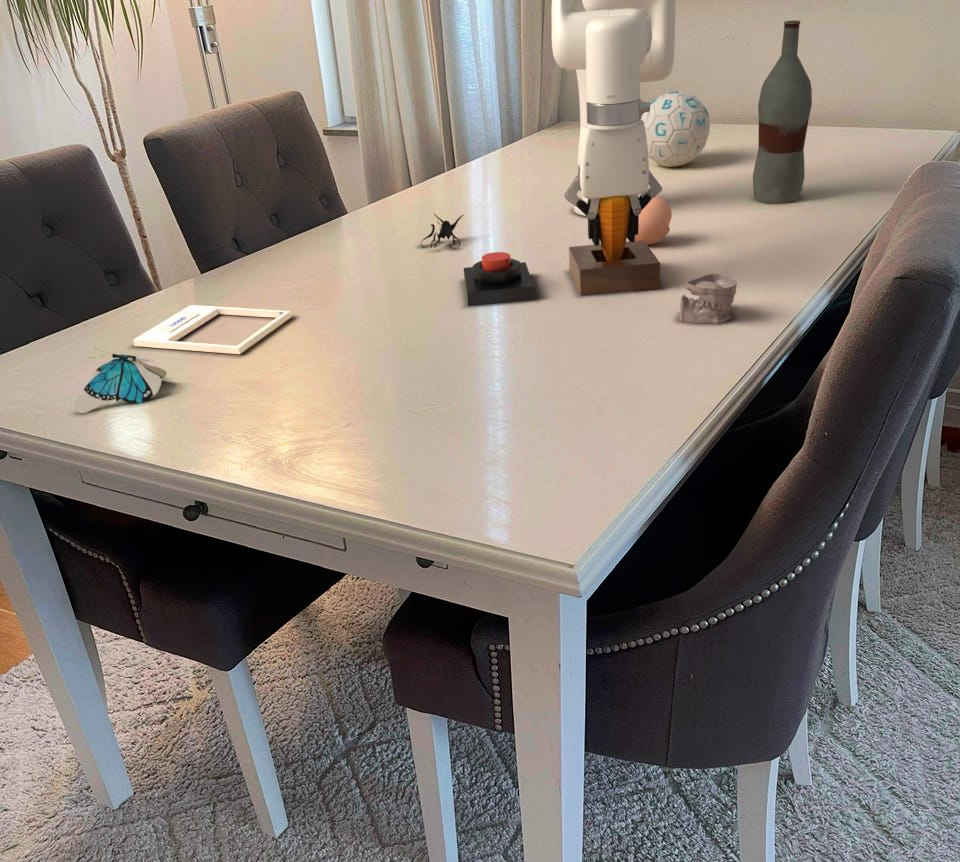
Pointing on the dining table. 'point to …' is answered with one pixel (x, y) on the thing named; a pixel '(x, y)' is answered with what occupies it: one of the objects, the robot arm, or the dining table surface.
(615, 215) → the carrot
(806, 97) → the bottle
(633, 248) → the holder
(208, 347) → the photo frame
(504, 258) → the button
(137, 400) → the decorative butterfly
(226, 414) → the dining table surface
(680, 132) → the puzzle ball
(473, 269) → the panel
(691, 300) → the dental mold
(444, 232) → the creature
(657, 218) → the toy ball
